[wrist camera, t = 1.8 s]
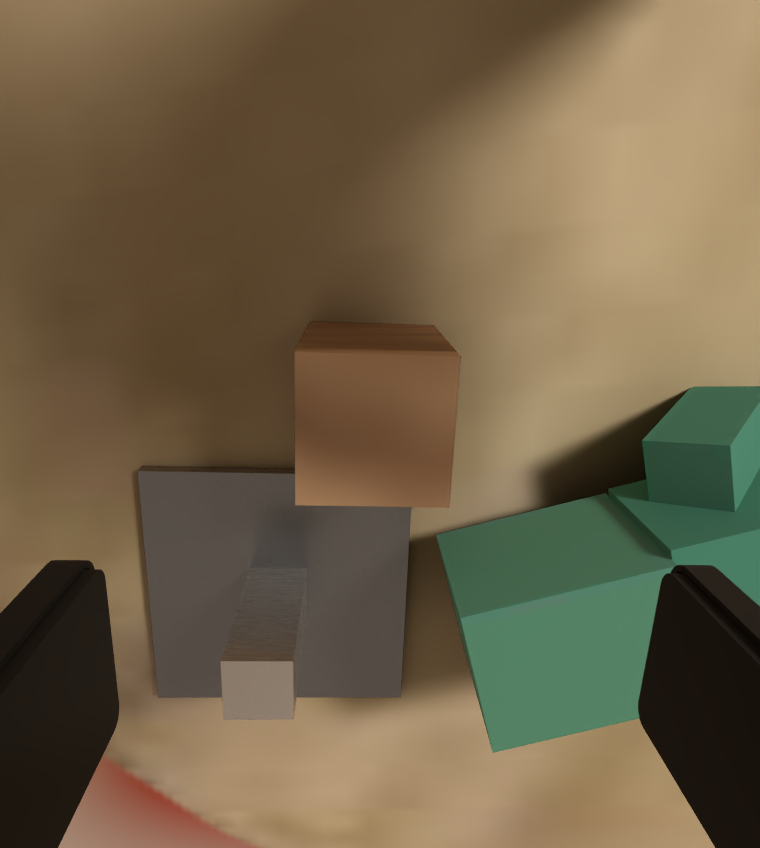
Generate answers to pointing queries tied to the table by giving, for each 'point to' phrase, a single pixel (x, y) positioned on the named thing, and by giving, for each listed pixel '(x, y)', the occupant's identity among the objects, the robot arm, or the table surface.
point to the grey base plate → (270, 590)
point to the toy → (604, 573)
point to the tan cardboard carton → (374, 415)
